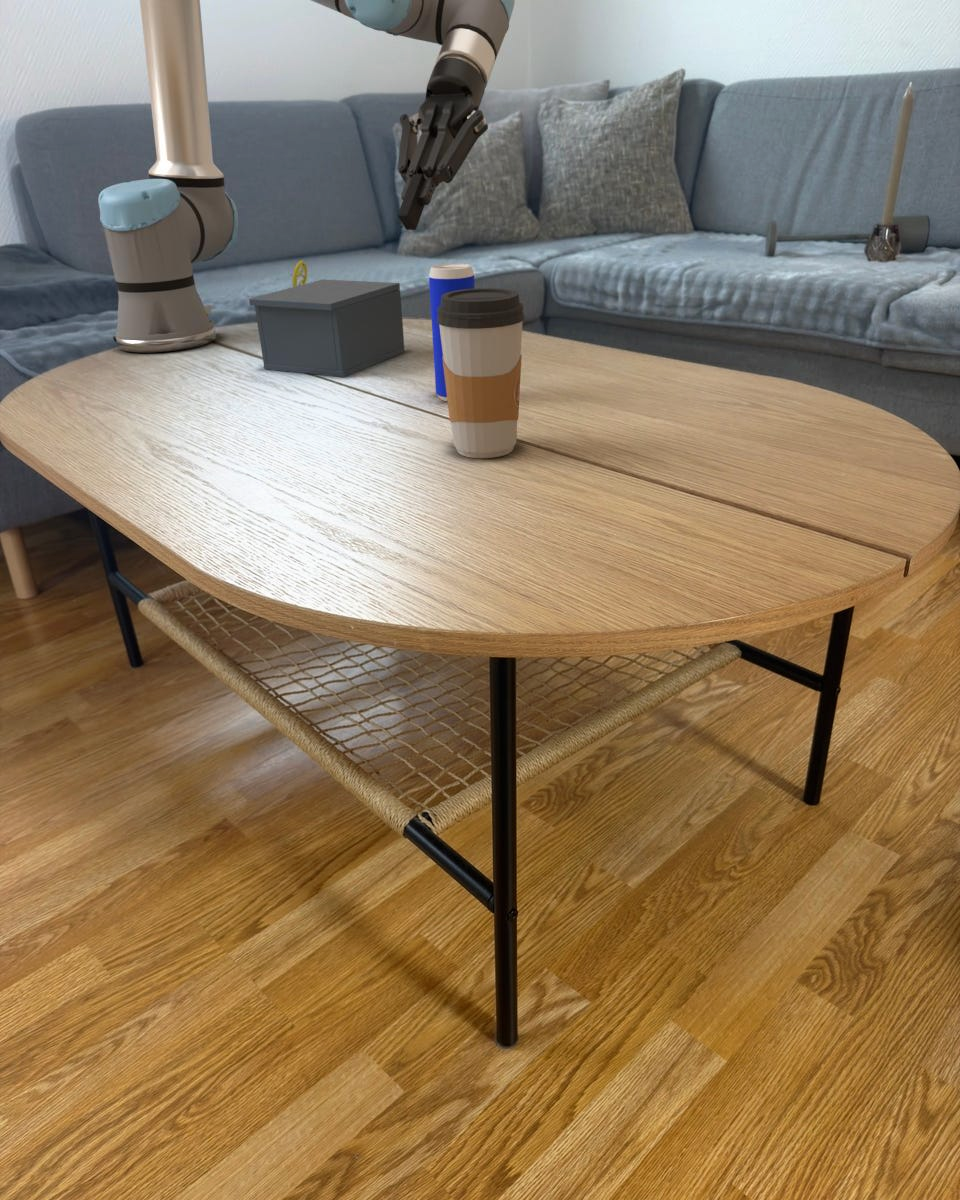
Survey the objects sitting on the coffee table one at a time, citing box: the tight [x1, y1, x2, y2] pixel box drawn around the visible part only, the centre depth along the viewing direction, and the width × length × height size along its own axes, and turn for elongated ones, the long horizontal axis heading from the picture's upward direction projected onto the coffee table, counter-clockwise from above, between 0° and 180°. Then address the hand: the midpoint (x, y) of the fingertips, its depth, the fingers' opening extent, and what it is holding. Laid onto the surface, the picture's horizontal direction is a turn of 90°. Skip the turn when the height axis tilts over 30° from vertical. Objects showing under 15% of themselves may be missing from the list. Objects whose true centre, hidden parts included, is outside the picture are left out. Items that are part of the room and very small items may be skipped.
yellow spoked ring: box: [292, 260, 308, 287], centre depth 145 cm, size 13×3×10 cm
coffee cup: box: [437, 287, 526, 459], centre depth 85 cm, size 8×8×15 cm
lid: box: [248, 279, 401, 310], centre depth 120 cm, size 16×14×1 cm
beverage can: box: [428, 262, 476, 402], centre depth 102 cm, size 5×5×15 cm
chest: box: [254, 289, 406, 378], centre depth 123 cm, size 16×14×9 cm
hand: (406, 222), depth 114 cm, fingers closed
